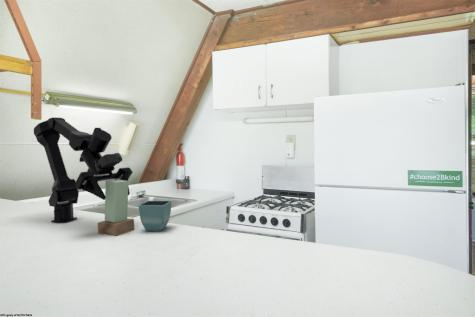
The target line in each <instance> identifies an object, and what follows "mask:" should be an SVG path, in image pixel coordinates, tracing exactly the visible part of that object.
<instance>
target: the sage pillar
mask: <svg viewBox="0 0 475 317" xmlns="http://www.w3.org/2000/svg"><path fill="white" fill-rule="evenodd" d="M128 186H129V180H128V181H124V180H107V181H105V189H104V190H105V192H104V195H105V197H106V198H105V200H104V201H105V202H104V221H105V220H106V221H110V222H113V223H115V222H120V221H126V220H127V218H128V208H129V207H128V204H129V202H128V201H129V198H128V197H129V195H128Z"/></svg>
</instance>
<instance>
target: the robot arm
mask: <svg viewBox="0 0 475 317" xmlns="http://www.w3.org/2000/svg"><path fill="white" fill-rule="evenodd" d="M33 135H34V136H35V138H36V141H37V142H38V143H39V145H41V146H42V147H43V148H44V151H45V154H46V157H47V161H48V164H49V167H50V170H51V175H52V178H53V184H52V187H51V192H52V193H51V194H50V197H49V198H48V204H49V207H53V219H52V220H51V223H68V222H71V221H74V220H76V219H78V217H74V204H78V202H79V200H78V199H79V194H80V192H79V190H80V191H81V190H82V191H83V192H87V193H90V194H92V195H94V196H96V197H98V198H100V199H101V200H103V201H105V198H106V197H105V192H104V190H102V188H101V186H100V184H99V183H98V182H106V181H108V180H124V181H128V182H129V179H130V177H131V176H132V174H133V173H134V172H133V170H132V168H130V167H118V170H117V171H116V172H113V171H114V170H115V166H116V165H118V164H120V163H122V162H123V156H122V155H121V154H120V153H119V152H114V153H107V154H103V155H102V154H101V153H104V152H105V151H106V149H107V148H108V146H109V144H110V143H111V140H112V135H111V134H110V133H109V132H108V131H106V130H104V129H102V128H101V127H94V129H93V132H92V134H91V133H89V132H85V131H80V130H78V128H76V127H74V126H73V125H71V124H70V123H69V122H68V121H66V119H65V118H63V117H50V118H48V119H47V120H43V121H42V122H39V123H38V124H36V126H34V128H33ZM61 137H64V138H65V139H66V140H68V145H69V146H70V147H71V149H72V150H73V151H74V152H81V153H80V157H79V162H80V163H83V162H84V163H85V164H86V166H87V167H88V168H87V171H81V172H80V173H79V175H78V176H77V178H76V180H75V179H74V178H70V177H69V175H68V171H67V168H66V165H65V162H64V158H63V155H62V153H61V150H60V146H59V141H60V138H61ZM129 187H130V186H129V185H128V196H129V195H130V188H129Z"/></svg>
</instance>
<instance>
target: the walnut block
mask: <svg viewBox="0 0 475 317" xmlns="http://www.w3.org/2000/svg"><path fill="white" fill-rule="evenodd" d="M134 219H135V218H128V217H127V220H126V221H120V222H115V223H113V222H110V221H106V220H105V219H104V220H101V221H99V222H97V234H99V235H104V234H105V235H106V236H114V237H118V236H121V235H123V234H126V233H129V232H132V231H134V230H135V220H134ZM105 235H104V236H105Z"/></svg>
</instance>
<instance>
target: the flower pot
mask: <svg viewBox="0 0 475 317" xmlns="http://www.w3.org/2000/svg"><path fill="white" fill-rule="evenodd" d="M172 203H173V202H172V200H147V201H144V202H142V203H140V204H139V205H138V206H137V207H138V213H139V218H140V222H141V225H142V226H143V228H144V229H145V231H148V232H149V231H151V232H152V231H154V232H157V231H159V232H161V231H163V230H164V229H165V228H166V227H167V225H168V223H169V221H170V218H171V212H172Z"/></svg>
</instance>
